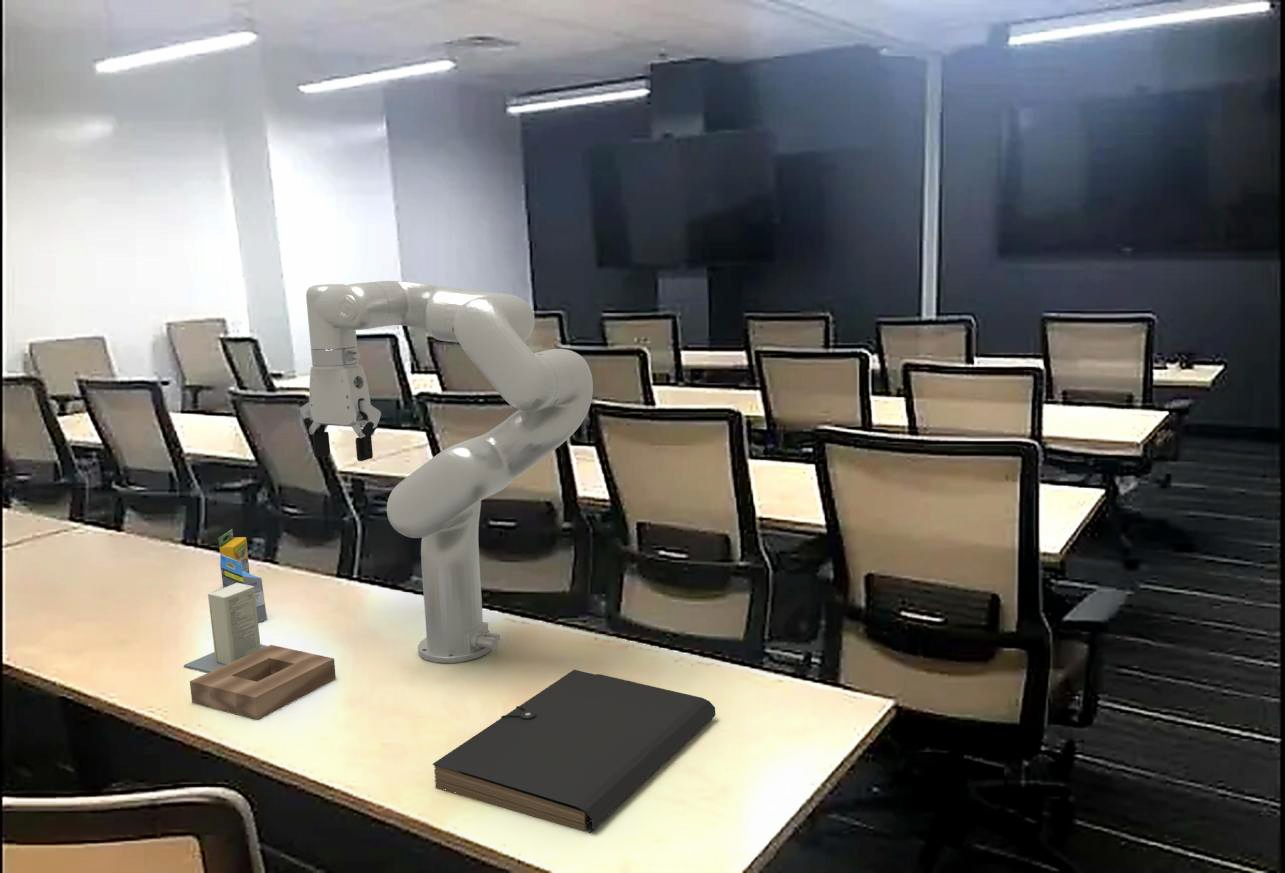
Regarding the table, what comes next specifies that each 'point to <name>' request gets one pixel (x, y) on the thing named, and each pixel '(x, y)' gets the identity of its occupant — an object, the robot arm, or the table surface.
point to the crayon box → (235, 549)
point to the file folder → (574, 748)
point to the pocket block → (262, 681)
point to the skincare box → (234, 622)
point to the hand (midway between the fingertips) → (343, 457)
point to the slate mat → (207, 663)
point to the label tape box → (243, 582)
